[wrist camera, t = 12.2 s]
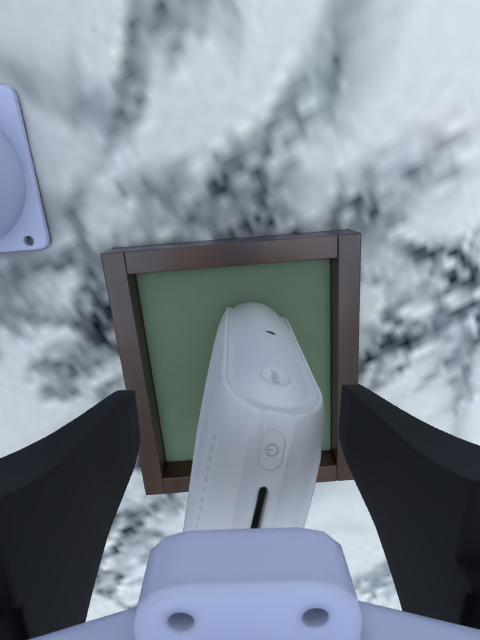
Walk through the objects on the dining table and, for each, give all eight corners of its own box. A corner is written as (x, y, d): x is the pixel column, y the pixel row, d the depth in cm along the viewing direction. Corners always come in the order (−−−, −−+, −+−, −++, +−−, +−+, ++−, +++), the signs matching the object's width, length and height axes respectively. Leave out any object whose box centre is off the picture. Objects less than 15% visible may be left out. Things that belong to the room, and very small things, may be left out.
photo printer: (221, 292, 22) (207, 405, 10) (294, 306, 22) (363, 431, 10) (193, 443, 25) (157, 664, 13) (257, 452, 25) (278, 677, 14)
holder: (152, 471, 26) (146, 495, 24) (112, 247, 22) (99, 253, 20) (346, 457, 26) (356, 479, 24) (349, 229, 22) (361, 232, 19)
